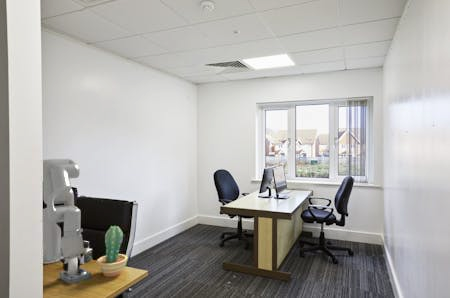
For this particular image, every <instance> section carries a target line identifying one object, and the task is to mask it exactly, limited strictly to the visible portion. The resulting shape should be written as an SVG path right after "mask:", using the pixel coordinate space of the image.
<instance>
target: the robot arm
mask: <svg viewBox="0 0 450 298" xmlns="http://www.w3.org/2000/svg"><path fill="white" fill-rule="evenodd" d="M42 161H43V180H42V183H43V184H42V188H43V191H42V193H43V195H42V197H43V202H44V204H45V205H46V207H45V208H43V209H42V210H43V265H46V264H47V265H48V264H54V263H58V262H61V263H62V269H63V272H65V271H66V272H67V271H68V263H67V260H68V257H71V256H72V255H75V254H76V255H77V256H78V268H80V267H81V264H80V260H81V258H82V256H83V255H84V254H85V253H86V252H87V250H86V249H85V248H84V247H83V241H84V240H83V235H82V232H84V229H83V228H81V220H82V219H81V217H82V215H81V209H80V208H78V206H75V194H74V191H73V189H72V185H71V184H72V182H71V179H76V178H77V179H78V178H79V176H80V173H81V172H80V168H79V165H78V164H77V163H76V162H75V161H74V160H72V159H70V158H52V159H51V158H49V159H43V160H42ZM58 204H64V205H58ZM57 223H63V236H62V230H61V227H60V226H59V225H58V224H57Z"/></svg>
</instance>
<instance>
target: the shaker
mask: <svg viewBox="0 0 450 298" xmlns="http://www.w3.org/2000/svg"><path fill="white" fill-rule="evenodd" d="M67 263H68V271H67V272H66V275H67V276H72V275H75V274H77V273H78V256H77V255H76V254H75V255H72V256H71V257H68V260H67Z"/></svg>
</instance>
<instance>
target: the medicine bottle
mask: <svg viewBox="0 0 450 298" xmlns="http://www.w3.org/2000/svg"><path fill="white" fill-rule="evenodd" d="M83 247H84V248H85V249H86V250H87V252H86V253H85V254H84V255H83V256H82V258H81V260H80V265H85V264H87V263H90V262H92V261H93V248H90V241H87V240H83Z"/></svg>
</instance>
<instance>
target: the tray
mask: <svg viewBox="0 0 450 298" xmlns="http://www.w3.org/2000/svg"><path fill="white" fill-rule="evenodd" d="M84 271H85V272H87V274H85V275H82V276H80V274H81V273H82V272H84ZM59 279H60V280H62V281H63V282H65V283H67V284H68V285H70V286H71V285H74V284H77V283H80V282H83V281H87V280H89V279H92V272H90V271H88V270H87V269H84V268H83V267H81V266H80V268H78V273H77V274H75V275H72V276H67V275H66V271H63V272H60V273H59Z"/></svg>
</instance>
